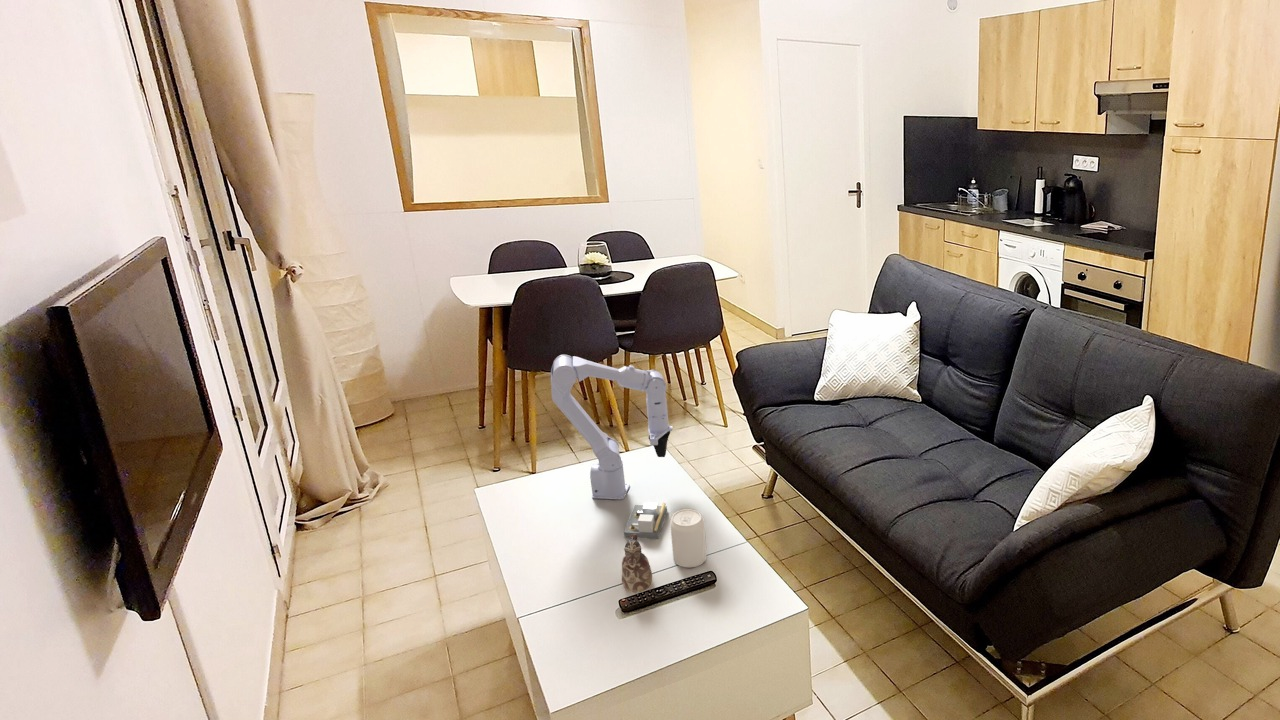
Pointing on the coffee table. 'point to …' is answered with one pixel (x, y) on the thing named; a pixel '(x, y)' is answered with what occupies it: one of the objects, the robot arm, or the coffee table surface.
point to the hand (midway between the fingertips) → (661, 455)
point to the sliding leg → (650, 509)
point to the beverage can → (688, 538)
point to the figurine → (635, 568)
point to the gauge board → (635, 520)
